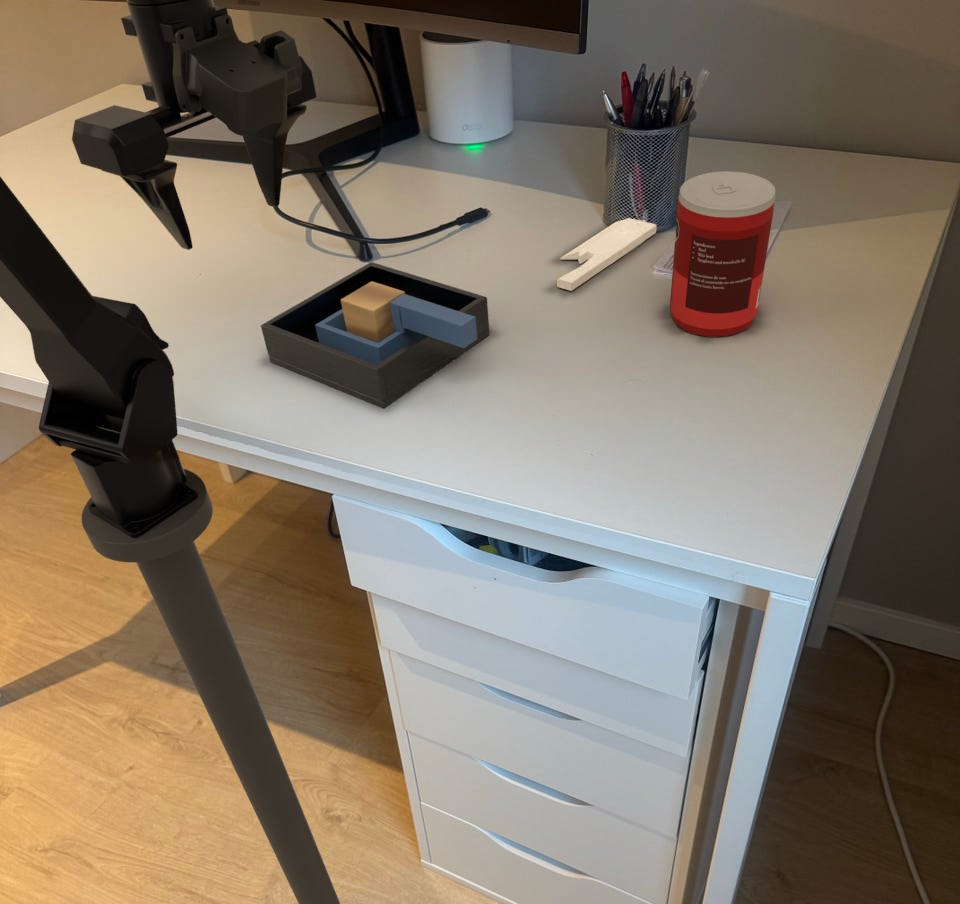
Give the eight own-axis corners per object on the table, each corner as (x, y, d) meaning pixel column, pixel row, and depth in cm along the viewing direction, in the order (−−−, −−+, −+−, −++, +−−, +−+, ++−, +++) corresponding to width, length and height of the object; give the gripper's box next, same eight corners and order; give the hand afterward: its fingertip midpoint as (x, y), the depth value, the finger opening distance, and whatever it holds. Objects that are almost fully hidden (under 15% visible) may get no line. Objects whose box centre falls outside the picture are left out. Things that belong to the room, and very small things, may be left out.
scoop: (444, 398, 74) (437, 342, 71) (320, 350, 81) (308, 297, 78) (501, 356, 78) (498, 301, 74) (378, 314, 85) (370, 262, 81)
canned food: (719, 288, 85) (734, 163, 77) (775, 322, 80) (798, 192, 72) (651, 311, 83) (659, 185, 75) (704, 347, 78) (719, 217, 70)
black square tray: (384, 408, 75) (377, 369, 72) (270, 362, 82) (260, 325, 79) (489, 334, 82) (487, 296, 79) (377, 297, 89) (371, 261, 86)
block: (380, 353, 79) (373, 310, 76) (348, 342, 81) (340, 299, 78) (411, 334, 81) (404, 291, 78) (378, 322, 83) (371, 280, 80)
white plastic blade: (529, 279, 89) (529, 268, 88) (616, 224, 96) (616, 213, 95) (571, 291, 86) (571, 279, 85) (657, 233, 94) (657, 222, 93)
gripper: (126, 45, 53) (205, 297, 65) (346, -29, 63) (381, 203, 74) (25, 27, 59) (114, 263, 70) (242, -39, 68) (290, 179, 79)
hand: (231, 226), depth 73 cm, fingers open, 9 cm apart
